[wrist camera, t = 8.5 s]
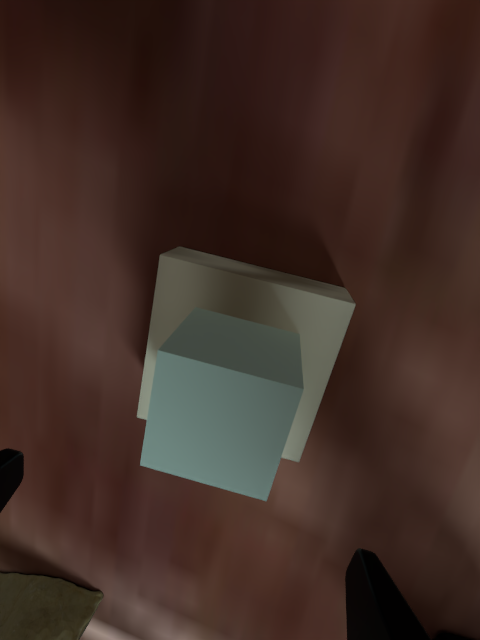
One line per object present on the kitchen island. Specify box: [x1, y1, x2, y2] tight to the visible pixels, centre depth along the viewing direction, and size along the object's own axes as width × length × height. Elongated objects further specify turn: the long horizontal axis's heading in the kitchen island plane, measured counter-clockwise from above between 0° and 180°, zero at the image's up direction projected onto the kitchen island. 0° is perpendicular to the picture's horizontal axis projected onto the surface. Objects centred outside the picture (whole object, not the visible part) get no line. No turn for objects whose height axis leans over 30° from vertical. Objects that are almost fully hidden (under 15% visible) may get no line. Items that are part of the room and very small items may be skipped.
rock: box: [0, 573, 103, 640], centre depth 27 cm, size 11×9×10 cm
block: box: [140, 307, 304, 501], centre depth 15 cm, size 5×5×5 cm
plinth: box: [137, 246, 356, 462], centre depth 18 cm, size 9×9×3 cm
